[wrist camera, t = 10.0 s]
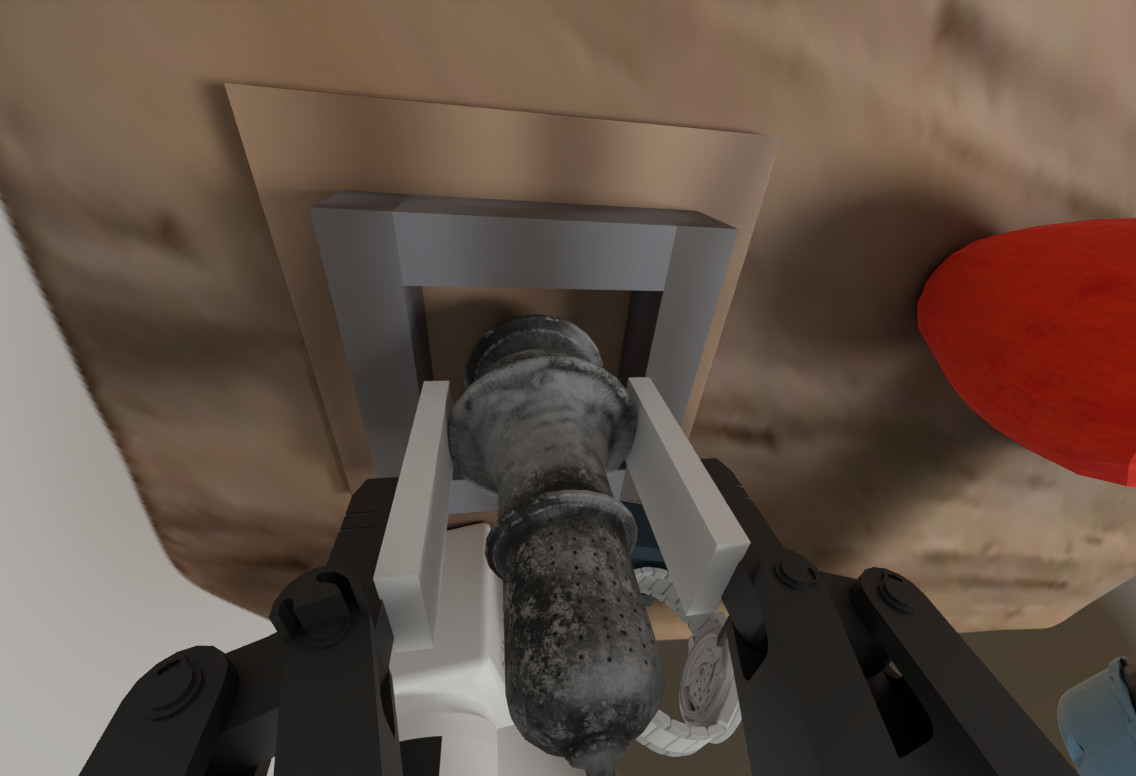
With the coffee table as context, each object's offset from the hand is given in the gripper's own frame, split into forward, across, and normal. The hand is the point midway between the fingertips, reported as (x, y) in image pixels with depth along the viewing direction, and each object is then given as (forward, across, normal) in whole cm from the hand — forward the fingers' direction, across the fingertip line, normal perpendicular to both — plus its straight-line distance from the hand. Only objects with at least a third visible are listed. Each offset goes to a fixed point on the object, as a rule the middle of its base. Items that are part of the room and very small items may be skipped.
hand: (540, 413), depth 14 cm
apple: (+5, -21, -3) cm, 22 cm away
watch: (+5, -7, +14) cm, 16 cm away
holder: (+5, 0, 0) cm, 5 cm away
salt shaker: (+2, 0, 0) cm, 2 cm away
